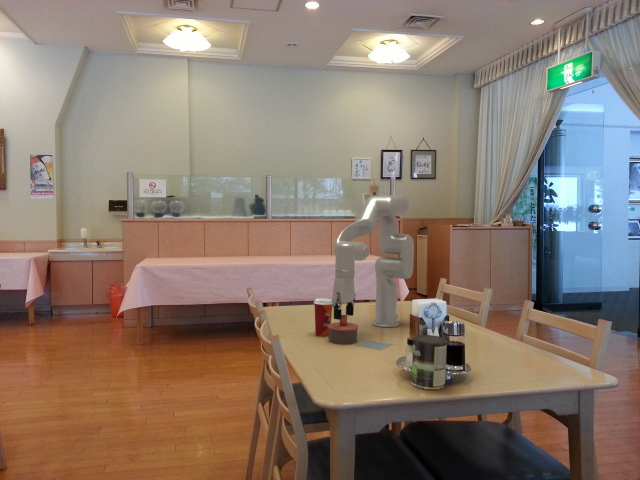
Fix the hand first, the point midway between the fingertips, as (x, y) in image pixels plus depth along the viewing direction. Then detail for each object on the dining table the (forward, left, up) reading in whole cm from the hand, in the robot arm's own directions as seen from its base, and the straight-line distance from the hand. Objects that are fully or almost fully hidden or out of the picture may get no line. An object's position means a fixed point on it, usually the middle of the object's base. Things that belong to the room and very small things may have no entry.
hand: (343, 317), depth 215 cm
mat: (-2, +13, -10) cm, 17 cm away
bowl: (0, 0, -10) cm, 10 cm away
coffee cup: (-6, -13, -10) cm, 18 cm away
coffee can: (+30, +47, -10) cm, 57 cm away
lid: (0, 0, -4) cm, 4 cm away
